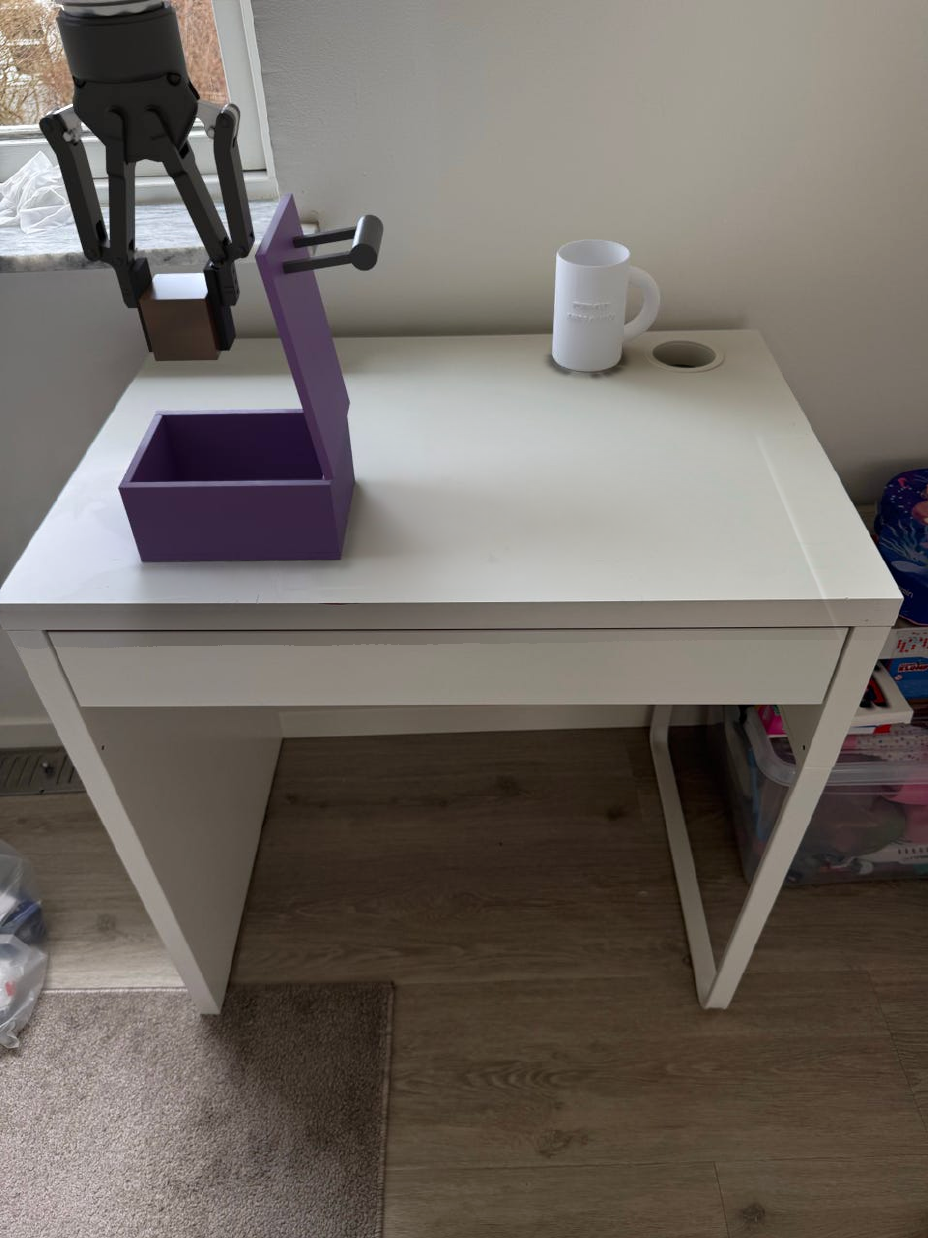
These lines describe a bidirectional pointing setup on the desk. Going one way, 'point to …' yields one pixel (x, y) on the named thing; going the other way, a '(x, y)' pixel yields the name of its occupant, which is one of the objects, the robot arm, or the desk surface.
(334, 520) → the purple box
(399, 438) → the desk surface
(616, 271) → the mug
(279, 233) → the purple hinged box lid
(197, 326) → the block
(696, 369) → the desk surface
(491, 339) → the desk surface
